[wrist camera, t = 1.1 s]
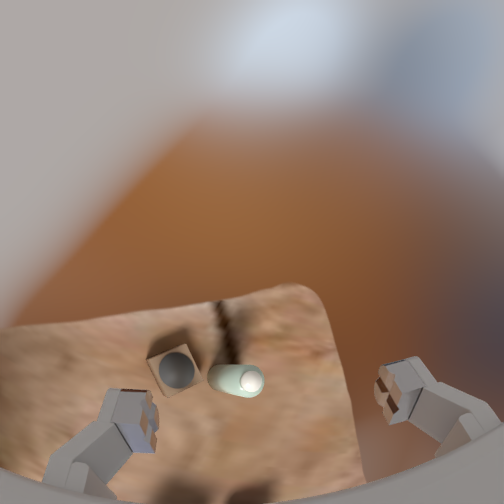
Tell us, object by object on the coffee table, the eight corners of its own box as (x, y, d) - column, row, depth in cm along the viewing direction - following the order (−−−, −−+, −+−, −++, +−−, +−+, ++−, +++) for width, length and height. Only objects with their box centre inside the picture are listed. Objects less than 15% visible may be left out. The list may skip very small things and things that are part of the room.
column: (214, 395, 44) (245, 404, 35) (202, 371, 45) (230, 374, 36) (237, 383, 47) (272, 387, 38) (226, 359, 47) (258, 358, 38)
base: (163, 395, 41) (167, 398, 38) (145, 359, 42) (148, 359, 39) (197, 379, 44) (204, 380, 41) (180, 344, 45) (186, 343, 42)
